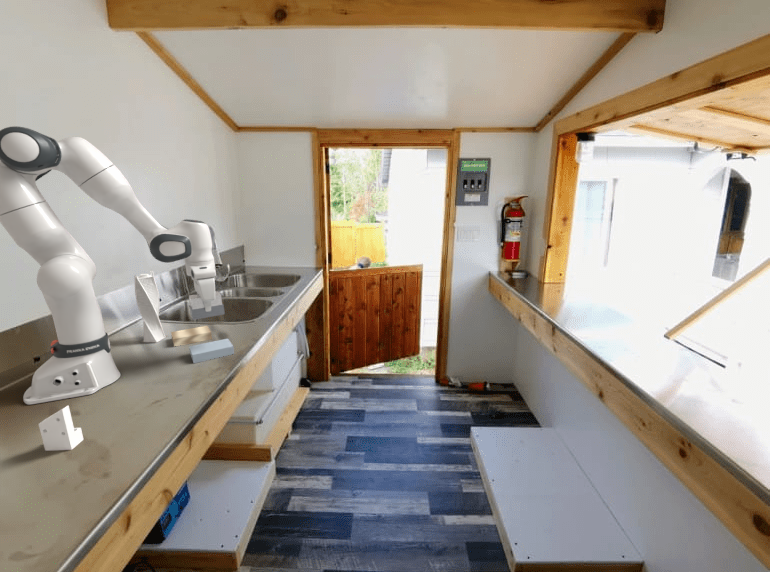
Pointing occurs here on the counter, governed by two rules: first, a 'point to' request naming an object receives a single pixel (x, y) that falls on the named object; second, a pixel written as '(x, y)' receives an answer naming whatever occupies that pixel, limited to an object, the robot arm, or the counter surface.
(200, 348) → the stand
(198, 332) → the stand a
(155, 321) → the skyscraper
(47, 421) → the white angled block
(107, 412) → the counter surface
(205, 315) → the block
